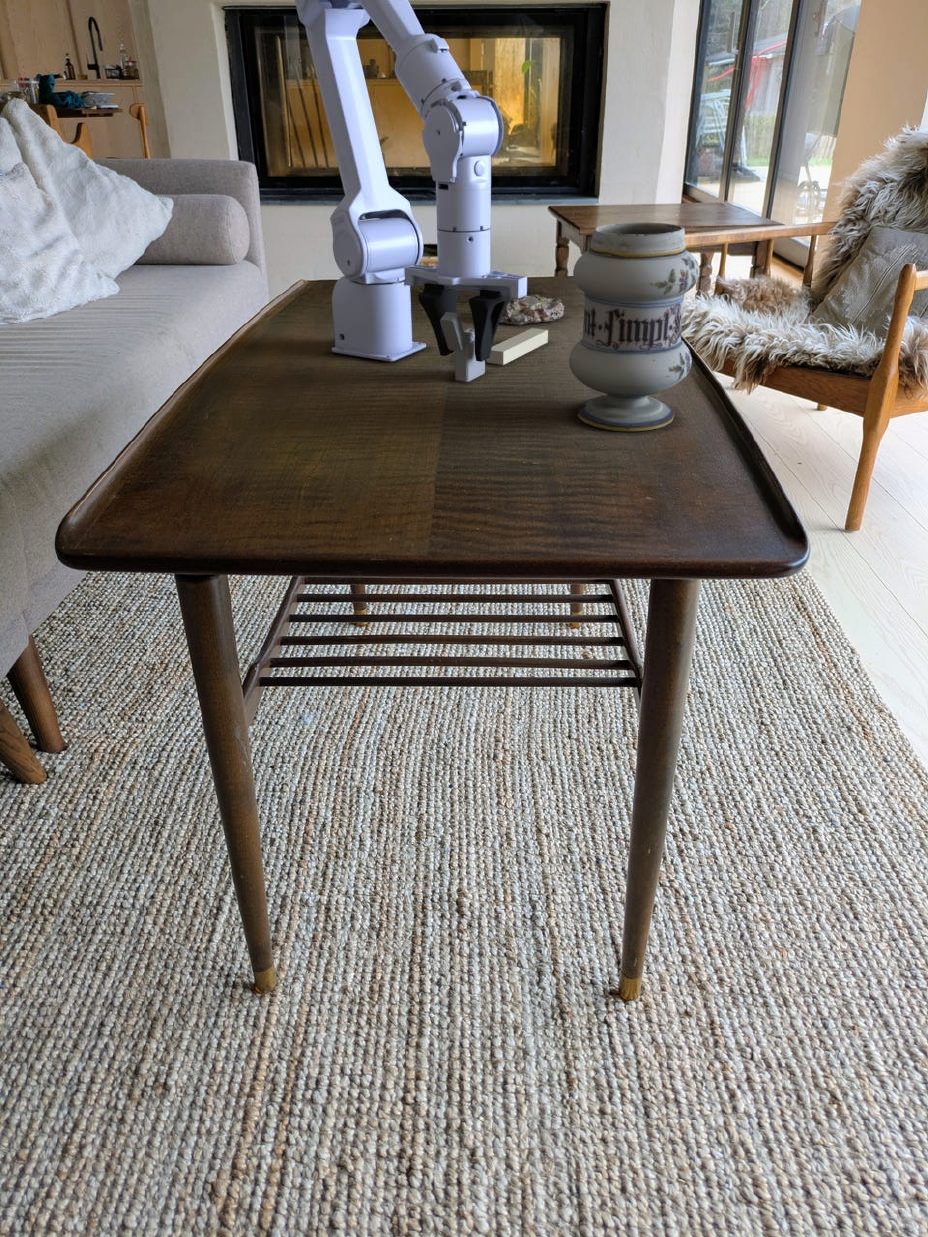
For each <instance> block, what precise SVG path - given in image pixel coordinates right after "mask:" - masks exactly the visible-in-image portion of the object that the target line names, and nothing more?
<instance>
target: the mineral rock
mask: <svg viewBox="0 0 928 1237" xmlns="http://www.w3.org/2000/svg"><path fill="white" fill-rule="evenodd" d="M564 310H565V304H563V301H562V300H561V299H560V298H550V297H544V296H540V295H539V294H531V295H528V294H527V295H526V296H523V297H521V298H518V299H517V298H511V299H510V302H509V304H508V305H507V307H506V309H505V311H504V313H503V315H502V317H501V320H500V322H499V323H501V324H502V323H505V324H506V325H516V326H522V325H524V326H525V325H529V324H538V323H541V322H542V323H543V322H545V323H547V322H553V321H555V320H558V319H561V318H563V316H564V313H565V312H564Z"/></svg>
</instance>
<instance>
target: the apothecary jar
mask: <svg viewBox="0 0 928 1237" xmlns="http://www.w3.org/2000/svg"><path fill="white" fill-rule="evenodd" d="M591 235H592V237H591V242H590V243H589V247H588V249H587V250H586V251H585V252H583V253H582V254H581V255H580V256H579V257H578V259H577V260H576V261H575V264H574V266H573V270H572V271H573V272H572V275H573V280H574V283H575V285H576V286H577V288H579V289H580V290H581V291H582V292H583V293H584V294H583V295H584V297H583V298H584V299H583V300H584V301H583V302H584V306H583V307H584V308H583V326H582V328H583V329H582V336H581V339H579V341H577V342H576V343H575V345H574V346H573V347H572V348H571V350H570V353H569V356H568V365H569V369H570V371H571V373H572V374H573V376H574V377H575V378H576V379H577V380H578V381H579V382H580V383H581V384H582V385H584V386H586V387H587V388H589V389H591V390H594V391H597V392H599V393H602V395H599V396H596V397H593V398H590V399H587V400H585V401H583V402H582V403H581V404H579V405H578V411H579V412H578V414H577V417H578V418H579V420H581V421H582V422H583V423H584V424H587V425H589V426H592V427H595V428H598V429H602V430H607V431H613V432H624V433H625V432H628V433H629V432H631V433H636V432H645V431H652V430H658V429H661V428H664V427H665V426H667V425H669V424H671V423H672V422H673V420H674V419H675V412H674V411H673V409H672V408H671V407H670V406H668V405H667V404H666V403H664V402H662V401H660V400H658V399H657V398H654V397H652V396H650V395H654V394H657V393H661V392H662V391H665V390H668V389H670V388H672V387H674V386H676V385H677V384H679V383H681V381H682V380H684V379H685V378H686V377H687V376H688V374H689V373H690V371H691V368H692V363H693V358H692V353H691V351H690V349H689V346H687V344H686V343H685V341H683V339H682V331H683V330H682V328H683V313H684V312H683V311H684V303H685V302H684V301H685V294H686V293H688V292H689V291H691V290H692V289H693V288H694V287H695V286H696V284H697V283H698V280H699V278H700V272H701V270H700V264H699V263H698V261H697V260H696V258H695V257H694V255H693V254H691V253H690V252H689V251H688V250H687V243H686V241H685V239H686V238H685V237H686V229H685V228H684V226H681V225H679V224H672V223H666V222H647V221H646V222H645V221H643V222H642V221H634V222H633V221H632V222H631V221H629V222H617V223H615V222H614V223H608V224H602V225H599V226H596V227H595V228H594V229H593V232H592V234H591Z"/></svg>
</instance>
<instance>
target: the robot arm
mask: <svg viewBox="0 0 928 1237" xmlns="http://www.w3.org/2000/svg"><path fill="white" fill-rule="evenodd" d="M294 4H295V8H296V11H297V15H298V16H297V17H298V20H299V22H300V23H301V24H303V26H304V27H305V34H306V37H307V42H308V46H309V50H310V55H311V58H312V63H313V67H314V71H315V76H316V79H317V83H318V87H319V91H320V92H319V93H320V96H321V99H322V105H323V108H324V114H325V116H326V117H325V118H326V121H327V124H328V130H329V133H330V138H331V141H332V142H331V143H332V145H333V146H332V147H333V149H334V154H335V158H336V161H337V166H338V172H339V175H340V179H341V182H342V187H343V192H344V197H343V198H342V199H341V201H340V202H339V203H338V205H337V206H336V208H335V209H334V210H333V211H332V214H331V215H330V218H329V220H330V225H331V231H332V253H333V257H334V262H335V263H336V266H337V268H338V269H339V271H340V272H341V273H342V274H343V276H341V277H340V278H338V280H337V281H336V282H335V284H334V287H333V290H332V295H331V309H332V319H333V320H332V322H333V330H334V331H333V333H334V345H335V346H334V347H332V348H331V352H332V353H336V354H341V355H348V356H354V357H359V358H367V359H373V360H379V361H385V362H392V363H393V362H395V361H398V360H400V359H403V358H404V357H406V356H410V355H412V354H413V353H417V352H419V351H421V350H423V349H425V348H427V344H426V343H424V342H419V341H413V327H412V303H411V301H412V299H411V287H415V286H421V287H423V289H422V292H419V293H417V299H418V302H419V303H420V305H421V306H422V308H423V309H424V311H425V314H426V316H427V318H428V320H429V322H430V325H431V327H432V330H433V334H434V337H435V340H436V344H437V347H438V348H437V349H438V352H439V356H442V357H446V356H448V355H451V354H453V353H455V351H453V350H449V349H448V346H447V342H446V339H445V336H444V333H443V329H442V326H441V323H440V320H441V318H442V317H443V316H444V314H445V313H446V312H452V313H457V306H458V302H459V296H460V292H461V291H463V292H464V291H465V292H472V293H473V292H474V293H479V295H475V296H473V297H470V298H468V304H469V308H470V312H471V317H472V322H473V323H472V324H473V329H474V331H475V358H476V361H479V362H482V361H484V360H485V361H486V359H488V358H490V354H491V349H492V347H493V344H494V340H495V338H496V337H495V336H496V334H497V330H498V327H499V325H500V323H501V322H500V320H501V317H502V315H503V313H504V311H505V309H506V307H507V305H508V304H509V302H510V299H511V298H512V299H514V298H517V299H518V298H521V297H523V296H526V295H527V296H528V294H527V293H528V276H525V275H517V274H512V273H508V272H503V271H499V270H495V269H491V225H492V224H491V222H492V221H491V220H492V219H491V218H492V216H491V214H492V211H491V210H492V204H491V203H492V159H493V158H494V157H496V155H497V154H498V153H499V151H500V149H501V147H502V143H503V140H504V121H503V117H502V113H501V111H500V109H499V107H498V104H497V101H496V100H495V99H494V98H492V97H490V96H488V95H481V94H480V93H479V90H475V89H472V86H471V85H470V83H469V81H468V80H467V79H466V77H465V75H464V74H463V72H462V70H461V69H460V67H459V65H458V64H457V62H456V61H455V59H454V57H453V55H452V54H451V53H450V51H449V50H450V46H449V45H448V43H447V41H446V39H445V38H443V37H440V36H438V35H437V34H434V33H425V31H424V30H423V27H422V25H421V24H420V21H419V19H418V18H417V16H416V13H415V11H414V9H413V6H412V5H411V4H410V1H409V0H294ZM370 20H371V21H372V23H373V24H374V25H375V27H376V28H377V30H378V31H379V32H380V34H381V35H382V36H383V38H384V39H385V41H386V42H387V44H388V45H389V46H390V48H391V49H392V51H393V52H394V54H395V55H396V58H395V62H394V73H395V76H396V79H397V80H398V82H399V83H400V85H401V87H402V89H403V91H405V93H406V95H407V97H408V98H409V100H410V101H411V103H412V105H413V107H414V108H415V110H416V112H417V113H418V116H420V118H421V120H422V122H423V124H424V129H422V130H421V136H422V144H423V147H424V150H425V153H426V154H427V156H428V160H429V164H430V176H431V177H432V180H433V182H435V197H436V199H435V201H436V204H435V206H436V240H437V242H436V244H437V245H436V246H437V265H423V264H421V261H422V258H423V254H424V238H423V233H422V231H421V229H420V227H419V225H418V222H417V221H416V219H415V217H414V215H413V211H412V208H411V204H410V201H409V200H408V199H406V197H404V196H403V195H402V194H400V193H399V192H398V191H396V190H395V189H394V188H393V187H392V186H391V185H390V184H389V179H388V175H387V174H388V173H387V169H386V166H385V162H384V161H385V160H384V156H383V153H382V149H381V143H380V139H379V136H378V130H377V126H376V121H375V117H374V113H373V109H372V104H371V100H370V96H369V91H368V86H367V83H366V78H365V74H364V69H363V65H362V60H361V56H360V52H359V48H358V42H357V34H358V32H359V29H361V28H363V27H364V26H366V25H367V24H368V23H369V21H370Z"/></svg>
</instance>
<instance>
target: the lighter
mask: <svg viewBox="0 0 928 1237" xmlns="http://www.w3.org/2000/svg"><path fill="white" fill-rule="evenodd" d="M440 323H441V326H442V329H443V333H444V336H445V339H446V342H447V346H448V349H449V350H453V351H454V366H455V367H454V368H455V370H454V371H455V381H459V382H465V383H466V382H468V383H469V382H471V381H473V380H475V379H476V378H479V377H480V376H482V375H484V374H485V372H486V360H484V361H482V362H479V361H476V358H475V331H474V328H467V329H465V330H464V326H463V323H462V320H461V317H460V314H459V313H457V312H456V313H452V312H446V313H445V314H444V316H443V317H442V318H441V320H440Z"/></svg>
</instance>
